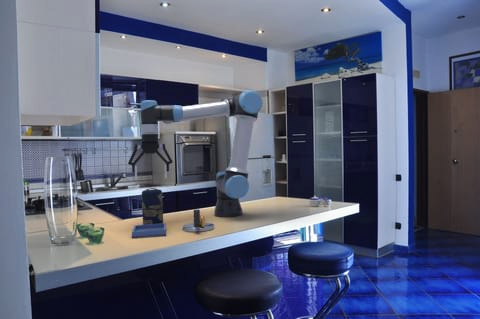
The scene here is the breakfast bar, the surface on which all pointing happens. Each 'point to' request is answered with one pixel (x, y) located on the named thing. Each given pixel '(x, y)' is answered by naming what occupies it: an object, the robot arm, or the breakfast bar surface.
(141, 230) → the tray
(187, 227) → the crank base
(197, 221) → the crank
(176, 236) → the breakfast bar surface
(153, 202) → the canister
